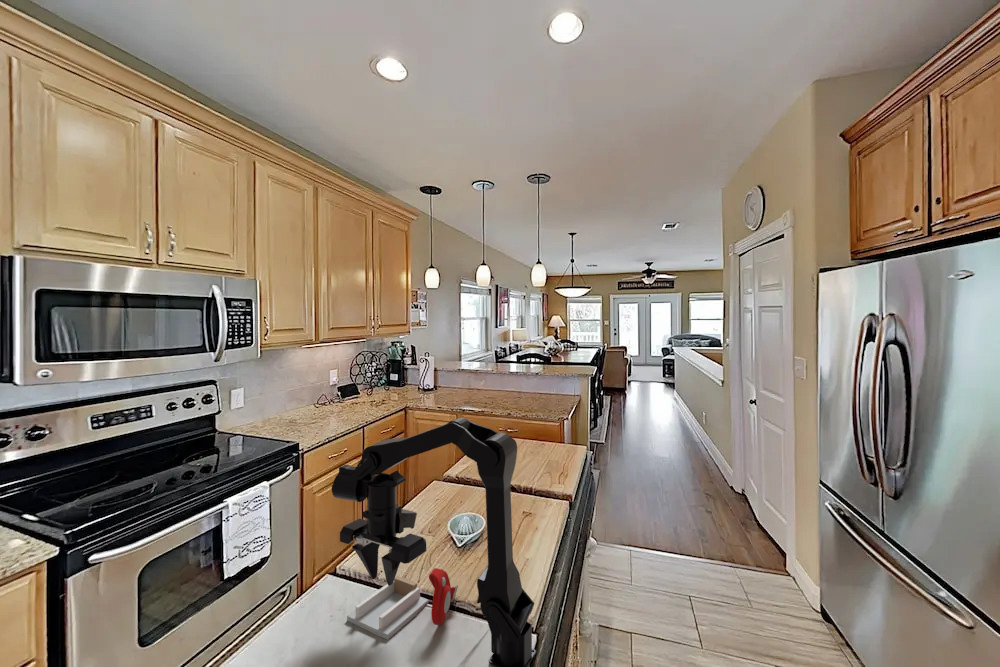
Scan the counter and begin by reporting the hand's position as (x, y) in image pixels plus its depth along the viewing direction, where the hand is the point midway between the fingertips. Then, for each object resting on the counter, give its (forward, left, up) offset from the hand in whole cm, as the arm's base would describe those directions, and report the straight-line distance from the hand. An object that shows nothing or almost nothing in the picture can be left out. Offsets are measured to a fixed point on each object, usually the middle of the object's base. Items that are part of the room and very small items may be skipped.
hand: (382, 581), depth 87 cm
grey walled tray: (0, -2, -7) cm, 8 cm away
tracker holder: (-10, -6, -8) cm, 14 cm away
